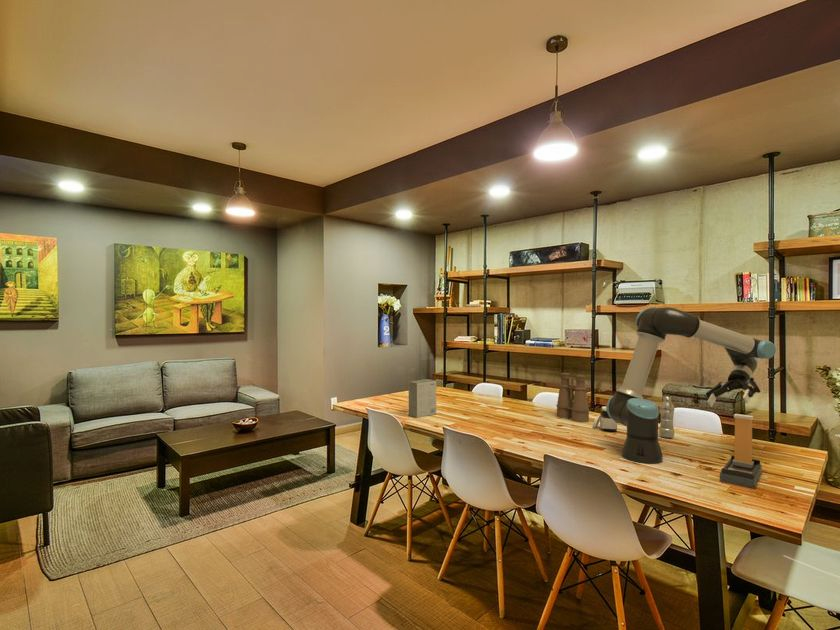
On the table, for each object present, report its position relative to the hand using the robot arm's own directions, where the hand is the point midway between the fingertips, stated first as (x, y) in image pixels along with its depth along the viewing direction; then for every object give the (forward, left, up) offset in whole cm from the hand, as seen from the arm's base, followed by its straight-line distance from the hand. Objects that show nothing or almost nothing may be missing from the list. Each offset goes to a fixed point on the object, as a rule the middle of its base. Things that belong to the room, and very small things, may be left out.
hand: (726, 402), depth 187 cm
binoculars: (-20, +80, -24) cm, 86 cm away
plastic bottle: (+2, +34, -24) cm, 41 cm away
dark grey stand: (-13, -18, -23) cm, 32 cm away
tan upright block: (-10, -16, -20) cm, 27 cm away
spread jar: (-18, +54, -24) cm, 62 cm away
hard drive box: (-102, +105, -24) cm, 148 cm away
